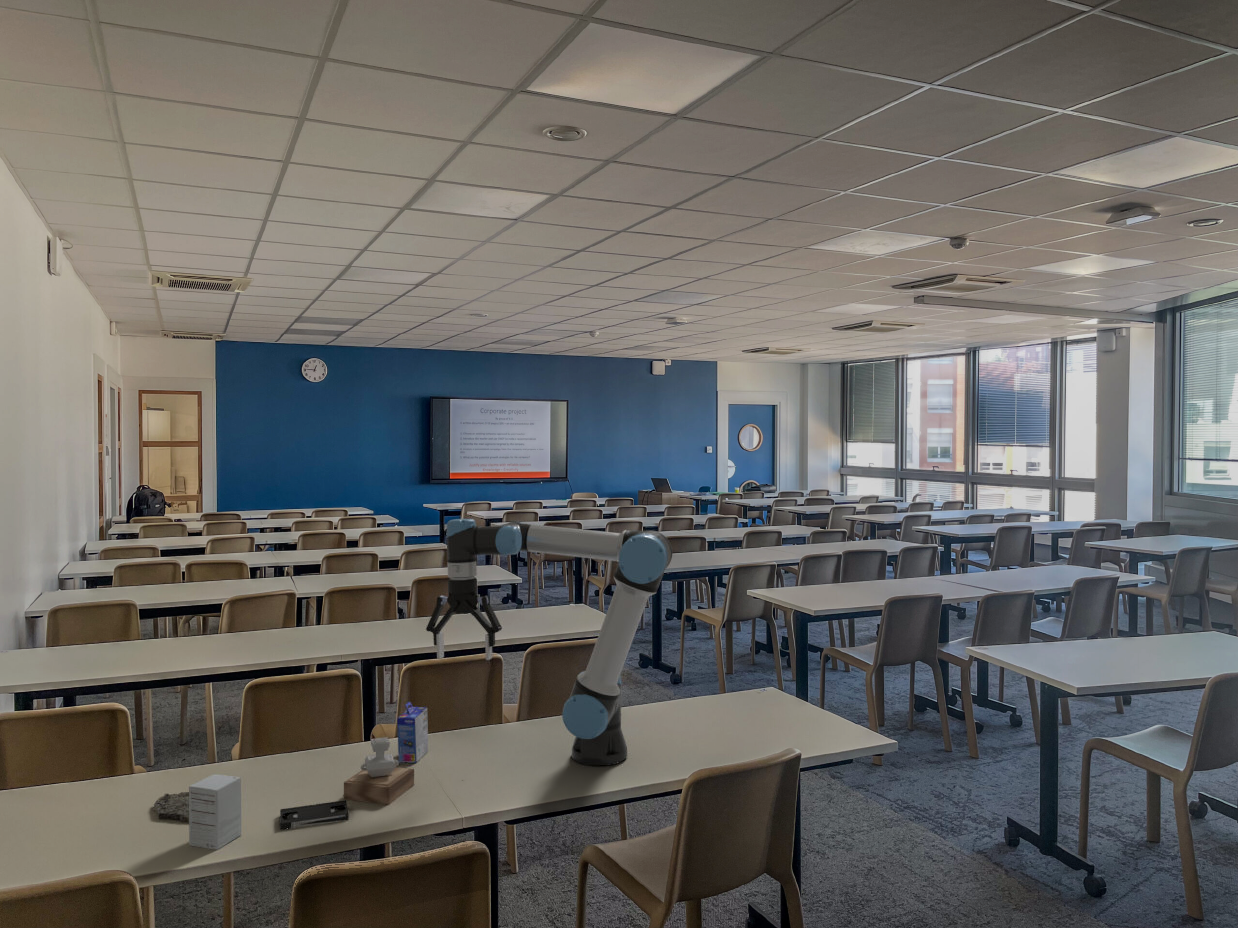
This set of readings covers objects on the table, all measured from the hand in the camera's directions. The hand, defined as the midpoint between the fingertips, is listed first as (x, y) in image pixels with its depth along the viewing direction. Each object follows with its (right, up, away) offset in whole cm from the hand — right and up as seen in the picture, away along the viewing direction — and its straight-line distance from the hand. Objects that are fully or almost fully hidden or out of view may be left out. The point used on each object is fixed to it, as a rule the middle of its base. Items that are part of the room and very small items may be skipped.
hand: (464, 658), depth 221 cm
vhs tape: (-28, -29, -32) cm, 52 cm away
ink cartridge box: (-15, -29, +7) cm, 33 cm away
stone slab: (-59, -29, -28) cm, 72 cm away
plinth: (-17, -28, -17) cm, 37 cm away
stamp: (-17, -24, -17) cm, 35 cm away
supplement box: (-45, -29, -43) cm, 69 cm away
